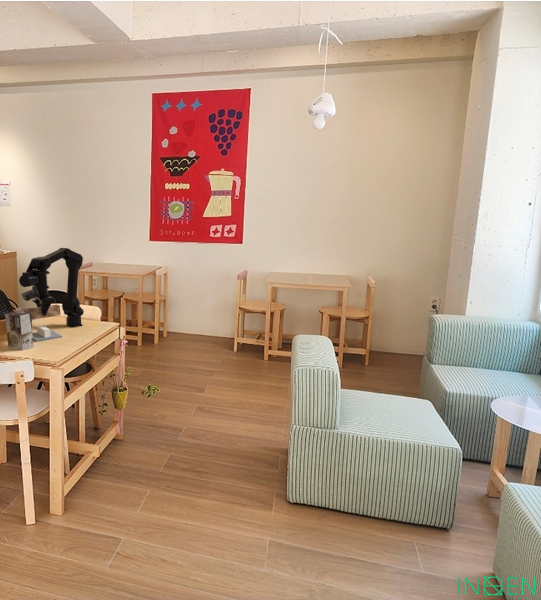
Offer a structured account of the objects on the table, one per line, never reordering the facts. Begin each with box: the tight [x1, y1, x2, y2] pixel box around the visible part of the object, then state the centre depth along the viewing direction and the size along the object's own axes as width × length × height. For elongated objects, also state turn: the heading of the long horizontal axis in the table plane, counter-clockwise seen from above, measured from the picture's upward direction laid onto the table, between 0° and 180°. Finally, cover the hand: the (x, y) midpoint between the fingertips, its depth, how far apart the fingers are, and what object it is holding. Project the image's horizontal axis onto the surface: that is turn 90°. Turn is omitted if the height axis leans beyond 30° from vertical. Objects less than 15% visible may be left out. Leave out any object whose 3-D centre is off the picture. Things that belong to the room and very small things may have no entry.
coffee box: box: [4, 310, 35, 351], centre depth 201 cm, size 9×6×16 cm
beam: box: [24, 303, 61, 321], centre depth 217 cm, size 16×4×5 cm, turn 142°
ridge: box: [33, 324, 63, 343], centre depth 219 cm, size 12×14×4 cm
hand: (42, 315), depth 218 cm, fingers closed on beam, 4 cm apart
